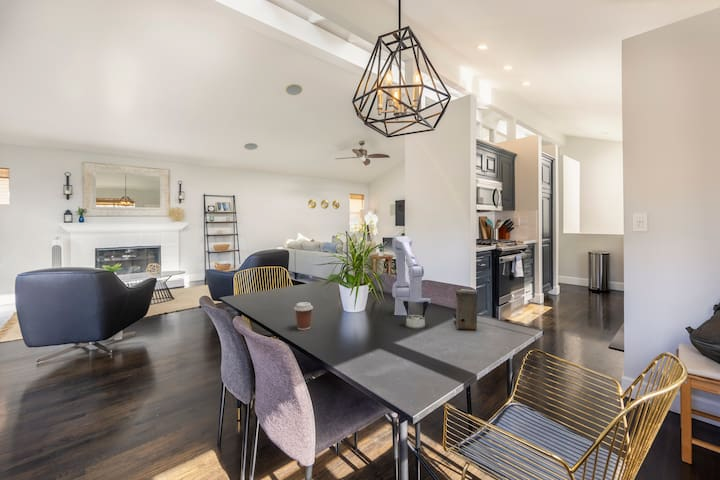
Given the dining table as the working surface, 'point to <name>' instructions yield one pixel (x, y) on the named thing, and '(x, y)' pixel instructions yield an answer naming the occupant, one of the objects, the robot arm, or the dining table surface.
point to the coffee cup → (303, 315)
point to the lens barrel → (415, 322)
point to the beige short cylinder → (415, 317)
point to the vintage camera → (466, 309)
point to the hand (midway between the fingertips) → (415, 316)
